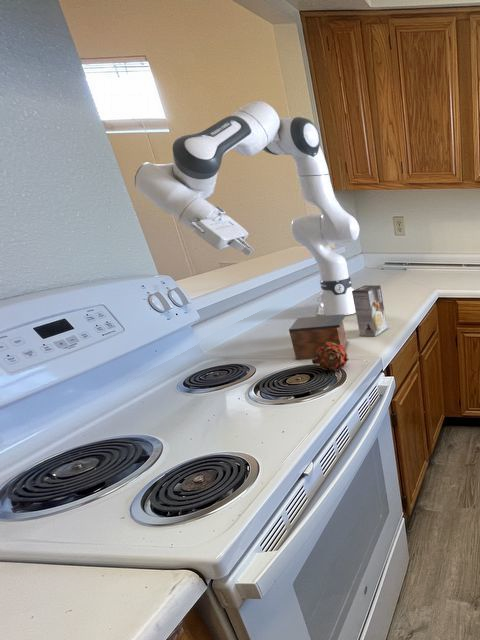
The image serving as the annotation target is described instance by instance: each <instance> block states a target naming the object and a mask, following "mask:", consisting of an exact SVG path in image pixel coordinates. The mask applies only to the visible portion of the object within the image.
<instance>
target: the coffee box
mask: <svg viewBox="0 0 480 640" xmlns="http://www.w3.org/2000/svg"><path fill="white" fill-rule="evenodd" d="M352 295H353V300H354V305H355V311H356V313H355V315H356V321H357V326H358V327H357V328H358V331H359V336H362V337H364V336H365V337H377V336H378V335H380V334H381V333H382V332H384V331H385V330H387V329H388V326H387V319H386V313H385V306H384V300H383V294H382V288H381V285H379V284H377V285H362V286H361V287H358V288H356V289H355V290H353V291H352Z"/></svg>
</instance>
